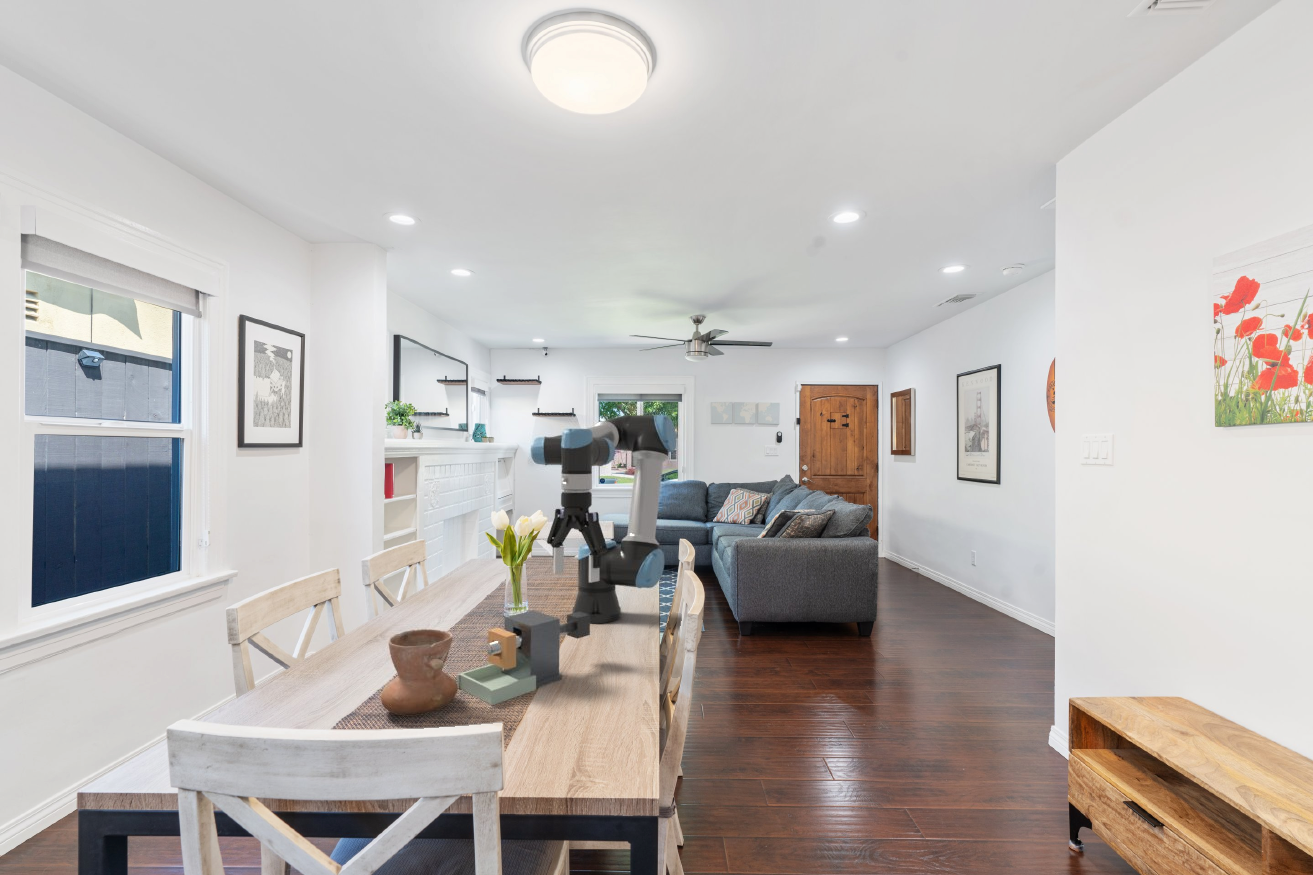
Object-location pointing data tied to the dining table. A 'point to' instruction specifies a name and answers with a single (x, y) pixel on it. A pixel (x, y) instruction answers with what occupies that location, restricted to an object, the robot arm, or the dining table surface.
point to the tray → (494, 684)
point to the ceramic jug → (419, 673)
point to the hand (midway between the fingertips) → (575, 577)
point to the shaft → (574, 627)
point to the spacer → (503, 648)
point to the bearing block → (535, 647)
